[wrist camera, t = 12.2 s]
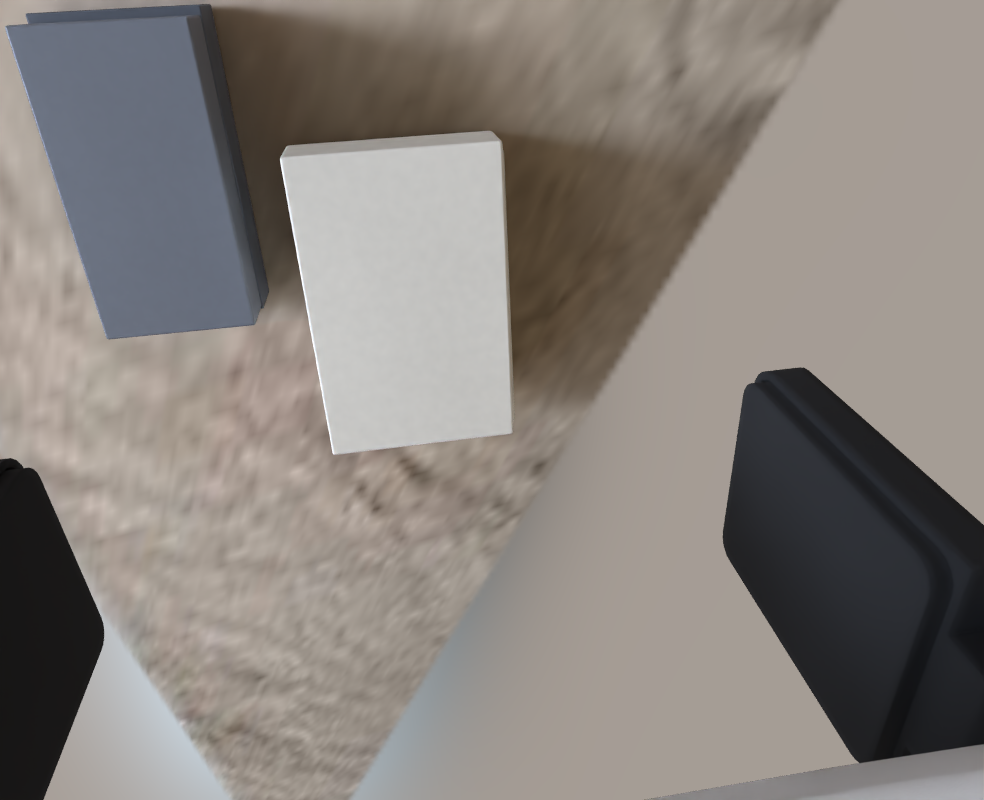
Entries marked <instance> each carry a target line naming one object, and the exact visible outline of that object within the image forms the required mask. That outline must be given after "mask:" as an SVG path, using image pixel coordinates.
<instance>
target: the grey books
mask: <svg viewBox="0 0 984 800" xmlns="http://www.w3.org/2000/svg"><path fill="white" fill-rule="evenodd" d="M26 18H27V21H28V24H23V25H9V26H6V27H5V29H6V32H7V35H8V38H9V41H10V45H11V48H12V51H13V54H14V57H15V60H16V63H17V66H18V69H19V72H20V75H21V78H22V81H23V84H24V87H25V90H26V93H27V96H28V99H29V103H30V106H31V109H32V112H33V115H34V118H35V121H36V124H37V127H38V130H39V133H40V136H41V139H42V142H43V145H44V148H45V151H46V154H47V157H48V160H49V164H50V167H51V170H52V173H53V176H54V179H55V182H56V185H57V188H58V191H59V194H60V197H61V200H62V203H63V206H64V209H65V212H66V215H67V218H68V222H69V225H70V228H71V231H72V234H73V237H74V240H75V243H76V246H77V249H78V252H79V255H80V258H81V261H82V264H83V267H84V270H85V273H86V276H87V280H88V283H89V286H90V289H91V292H92V295H93V298H94V301H95V304H96V307H97V310H98V313H99V316H100V319H101V322H102V325H103V328H104V331H105V334H106V337H107V339H117V338H127V337H137V336H148V335H158V334H168V333H178V332H188V331H198V330H208V329H218V328H228V327H239V326H249V325H255V323H256V320H257V317H258V314H259V311H260V309H261V308H264V305H265V302H266V299H267V296H268V293H269V288H268V283H267V278H266V273H265V268H264V263H263V259H262V254H261V249H260V244H259V239H258V234H257V229H256V224H255V219H254V214H253V210H252V205H251V200H250V195H249V190H248V185H247V180H246V175H245V170H244V165H243V160H242V156H241V151H240V146H239V141H238V136H237V131H236V126H235V121H234V116H233V111H232V107H231V102H230V97H229V92H228V87H227V82H226V77H225V72H224V67H223V62H222V58H221V53H220V48H219V43H218V38H217V33H216V28H215V23H214V18H213V13H212V8H211V5H210V4H200V5H180V6H161V7H142V8H123V9H104V10H85V11H66V12H47V13H28V14H26Z"/></svg>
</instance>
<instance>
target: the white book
mask: <svg viewBox="0 0 984 800" xmlns="http://www.w3.org/2000/svg"><path fill="white" fill-rule="evenodd" d="M280 163H281V169H282V175H283V180H284V186H285V191H286V197H287V202H288V208H289V213H290V219H291V224H292V230H293V236H294V241H295V247H296V252H297V258H298V263H299V269H300V274H301V280H302V285H303V291H304V297H305V302H306V308H307V313H308V319H309V324H310V330H311V335H312V341H313V346H314V352H315V358H316V363H317V369H318V374H319V380H320V385H321V391H322V396H323V402H324V408H325V413H326V419H327V424H328V430H329V435H330V441H331V446H332V452H333V454H334V455H338V454H346V453H354V452H363V451H371V450H379V449H388V448H396V447H405V446H413V445H421V444H430V443H438V442H446V441H455V440H463V439H471V438H480V437H488V436H497V435H505V434H512V433H513V407H512V381H511V355H510V329H509V302H508V276H507V250H506V224H505V197H504V171H503V145H502V141H501V140H500V139H499V138H498V137H497V136H496V135H495V134H494V133H493V132H492V131H478V132H464V133H451V134H437V135H424V136H410V137H397V138H383V139H369V140H356V141H342V142H329V143H315V144H302V145H288V146H286V148H285V150H284V152H283V154H282V156H281V157H280Z"/></svg>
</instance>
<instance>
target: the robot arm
mask: <svg viewBox="0 0 984 800" xmlns="http://www.w3.org/2000/svg"><path fill="white" fill-rule="evenodd" d="M723 544H724V548H725V551H726V554H727V557H728V558H729V560H730V562H731V563H732V565H733V567H734V568H735V570H736V571H737V573H738V575H739V576H740V578H741V579H742V581H743V583H744V584H745V586H746V587H747V589H748V591H749V592H750V594H751V595H752V597H753V599H754V600H755V602H756V603H757V605H758V607H759V608H760V609H761V611H762V613H763V615H764V616H765V618H766V619H767V621H768V623H769V624H770V626H771V627H772V629H773V630H774V632H775V634H776V635H777V637H778V638H779V640H780V642H781V643H782V645H783V646H784V648H785V650H786V651H787V653H788V654H789V656H790V658H791V659H792V661H793V662H794V664H795V666H796V667H797V669H798V670H799V672H800V673H801V675H802V677H803V678H804V680H805V681H806V683H807V685H808V686H809V688H810V689H811V691H812V693H813V694H814V696H815V697H816V699H817V701H818V702H819V704H820V705H821V707H822V709H823V710H824V711H825V713H826V715H827V716H828V718H829V720H830V721H831V723H832V724H833V726H834V728H835V729H836V731H837V732H838V734H839V736H840V737H841V739H842V740H843V742H844V744H845V745H846V747H847V748H848V750H849V752H850V753H851V754H852V756H853V757H854V758H855V759H856V760H857V761H858V762H859V764H851V765H845V766H838V767H832V768H827V769H820V770H815V771H809V772H803V773H797V774H791V775H786V776H780V777H774V778H768V779H762V780H757V781H752V782H746V783H739V784H734V785H728V786H722V787H716V788H711V789H705V790H699V791H693V792H688V793H681V794H676V795H670V796H664V797H659V798H653V799H647V800H984V525H983V524H982V523H981V522H980V521H978V520H977V519H976V518H975V517H974V516H973V515H972V514H970V513H969V512H968V511H967V510H966V509H965V508H964V507H962V506H961V505H960V504H959V503H958V502H957V501H956V500H955V499H953V498H952V497H951V496H950V495H949V494H948V493H947V492H945V491H944V490H943V489H942V488H941V487H940V486H939V485H938V484H937V483H935V482H934V481H933V480H932V479H931V478H930V477H929V476H927V475H926V474H925V473H924V472H923V471H922V470H921V469H920V468H918V467H917V466H916V465H915V464H914V463H913V462H912V461H911V460H909V459H908V458H907V457H906V456H905V455H904V454H903V453H901V452H900V451H899V450H898V449H897V448H896V447H895V446H893V445H892V444H891V443H890V442H889V441H888V440H887V439H886V438H884V437H883V436H882V435H881V434H880V433H879V432H878V431H877V430H875V429H874V428H873V427H872V426H871V425H870V424H869V423H867V422H866V421H865V420H864V419H863V418H862V417H861V416H860V415H858V414H857V413H856V412H855V411H854V410H853V409H851V407H849V406H848V405H847V404H846V403H845V402H844V401H843V400H842V399H840V398H839V397H838V396H837V395H836V394H834V393H833V392H832V391H831V390H830V389H829V388H828V387H827V386H826V385H824V384H823V383H822V382H821V381H820V380H819V379H818V378H817V377H815V376H814V375H813V374H812V373H811V372H810V371H809V370H807V369H805V368H792V369H783V370H774V371H765V372H762V373H760V374H759V375H758V376H757V378H756V380H755V383H751V384H749V385H747V387H746V388H745V390H744V395H743V401H742V408H741V415H740V422H739V429H738V434H737V441H736V448H735V455H734V461H733V469H732V475H731V481H730V488H729V495H728V502H727V508H726V515H725V522H724V529H723ZM103 641H104V626H103V622H102V618H101V616H100V614H99V611H98V609H97V607H96V604H95V602H94V600H93V598H92V595H91V593H90V591H89V588H88V586H87V584H86V582H85V579H84V577H83V575H82V572H81V570H80V568H79V565H78V563H77V561H76V559H75V556H74V554H73V552H72V549H71V547H70V545H69V543H68V540H67V538H66V536H65V533H64V531H63V529H62V527H61V524H60V522H59V520H58V517H57V515H56V513H55V511H54V508H53V506H52V504H51V501H50V499H49V497H48V495H47V492H46V490H45V488H44V485H43V483H42V481H41V479H40V477H39V475H38V473H37V472H36V471H35V470H34V469H32V468H23V466H22V465H21V464H20V463H19V462H18V461H17V460H14V459H11V458H9V459H0V800H43V799H44V796H45V794H46V791H47V788H48V786H49V784H50V781H51V778H52V776H53V773H54V771H55V768H56V766H57V763H58V761H59V758H60V755H61V753H62V750H63V747H64V745H65V742H66V740H67V737H68V735H69V732H70V730H71V727H72V725H73V722H74V719H75V716H76V714H77V712H78V709H79V707H80V704H81V701H82V699H83V696H84V694H85V691H86V689H87V685H88V683H89V681H90V678H91V676H92V673H93V670H94V668H95V665H96V663H97V660H98V658H99V655H100V652H101V650H102V646H103Z"/></svg>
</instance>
